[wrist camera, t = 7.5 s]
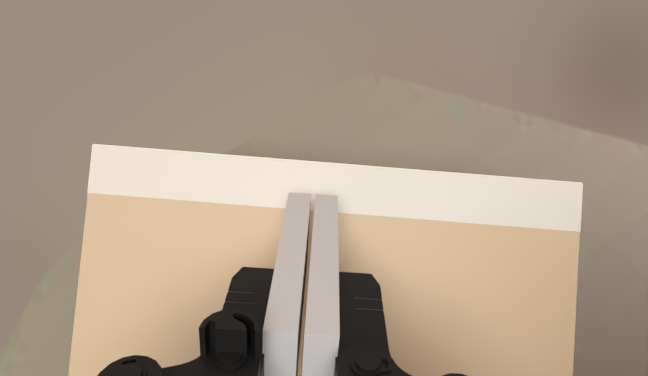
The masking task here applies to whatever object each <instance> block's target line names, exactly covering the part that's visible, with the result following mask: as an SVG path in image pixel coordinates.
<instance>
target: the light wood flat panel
mask: <svg viewBox="0 0 648 376" xmlns="http://www.w3.org/2000/svg"><path fill="white" fill-rule="evenodd" d="M289 192H292V193H307V194H311V206H310V223H309V240H308V257H307V270H306V282H305V293H304V305H303V316H302V328H301V339H300V351H299V362H298V374H297V376H302V366H303V350H304V333H305V320H306V307H307V294H308V281H309V268H310V256H311V243H312V230H313V217H314V204H315V194H322V195H338V245H339V272H352V273H367V274H372V275H373V277H374V278H375V279H376V281H377V282H378V283H379V285H380V288H381V295H382V302H383V312H384V317H385V324H386V332H387V339H388V346H389V352H390V355H391V357H392V358H393V359H394V362H395V363H396V364H397V365H398V366H399V367H400V368H401V369H402V370H403V371H405V372H406V373H408V374H410V375H412V376H443V375H446V374H449V373H458V374H464V375H467V376H573V363H574V342H575V322H576V301H577V280H578V260H579V239H580V232H581V213H582V192H583V183H581V182H568V181H555V180H543V179H530V178H517V177H505V176H492V175H479V174H467V173H454V172H442V171H429V170H416V169H404V168H391V167H378V166H366V165H353V164H340V163H328V162H315V161H303V160H290V159H277V158H265V157H252V156H239V155H227V154H214V153H201V152H188V151H176V150H163V149H151V148H138V147H126V146H125V147H124V146H113V145H100V144H93V146H92V154H91V163H90V173H89V182H88V191H87V193H88V198H87V207H86V217H85V226H84V235H83V244H82V254H81V263H80V272H79V282H78V291H77V300H76V310H75V319H74V328H73V338H72V347H71V356H70V365H69V375H68V376H97V375H98V374H99V373H100V372H101V371H102V370H103V369H104V368H106V367H107V366H108V365H109V364H110V363H112V362H114V361H116V360H118V359H120V358H123V357H128V356H133V355H141V356H148V357H150V358H152V359H154V360H156V361H157V362H158V364H159V365H160V366H161V368H165V367H170V366H175V365H180V364H183V363H187V362H190V361H192V360H194V359H196V358H198V357H199V356H200V341H199V326H200V325H201V323H202V322H203V320H204V319H205V318H207V317H208V316H210V315H211V314H212V313H215V312H218V311H221V310H222V308H223V305H224V303H225V299H226V296H227V292H228V289H229V286H230V283H231V279H232V277H233V276H234V275H235V274H236V273H237V272H238V271H239V270H240V269H241V268H242V267H255V268H270V269H274V268H275V262H276V257H277V252H278V246H279V241H280V236H281V230H282V225H283V220H284V214H285V209H286V204H287V198H288V193H289Z"/></svg>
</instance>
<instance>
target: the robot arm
mask: <svg viewBox="0 0 648 376" xmlns="http://www.w3.org/2000/svg"><path fill="white" fill-rule="evenodd" d="M310 206H311V194H307V193H292V192H289V193H288V198H287V204H286V209H285V214H284V220H283V225H282V230H281V236H280V241H279V246H278V252H277V257H276V262H275V268H274V269H270V268H255V267H242V268H241V269H240V270H239V271H238V272H237V273H236V274H235V275H234V276H233V277H232V279H231V283H230V286H229V289H228V292H227V296H226V299H225V303H224V305H223V308H222V310H221V311H218V312H215V313H212V314H211V315H210V316H208V317H207V318H205V319H204V320H203V322H202V323H201V325H200V326H199V341H200V356H199V357H198V358H196V359H194V360H192V361H190V362H187V363H183V364H180V365H175V366H170V367H165V368H161V366H160V365H159V364H158V362H157V361H156V360H154V359H152V358H150V357H148V356H141V355H133V356H128V357H123V358H120V359H118V360H116V361H114V362H112V363H110V364H109V365H108V366H107V367H106V368H104V369H103V370H102V371H101V372H100V373H99V374H98V375H97V376H297V374H298V362H299V351H300V339H301V328H302V316H303V305H304V293H305V282H306V270H307V257H308V240H309V223H310ZM302 376H412V375H410V374H408V373H406V372H405V371H403V370H402V369H401V368H400V367H399V366H398V365H397V364H396V363H395V362H394V359H393V358H392V357H391V355H390V352H389V346H388V339H387V332H386V324H385V317H384V312H383V302H382V295H381V288H380V285H379V283H378V282H377V281H376V279H375V278H374V277H373V275H372V274H367V273H352V272H339V245H338V195H322V194H315V204H314V217H313V230H312V243H311V256H310V268H309V281H308V294H307V307H306V320H305V333H304V350H303V366H302ZM443 376H467V375H464V374H458V373H449V374H446V375H443Z"/></svg>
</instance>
